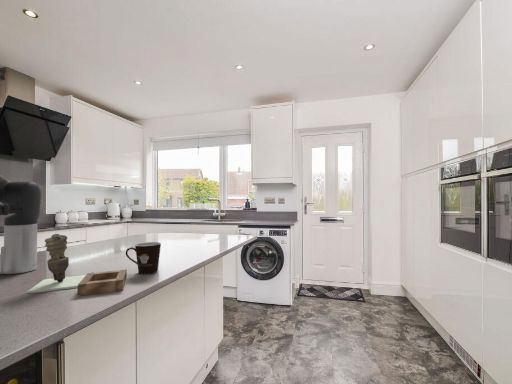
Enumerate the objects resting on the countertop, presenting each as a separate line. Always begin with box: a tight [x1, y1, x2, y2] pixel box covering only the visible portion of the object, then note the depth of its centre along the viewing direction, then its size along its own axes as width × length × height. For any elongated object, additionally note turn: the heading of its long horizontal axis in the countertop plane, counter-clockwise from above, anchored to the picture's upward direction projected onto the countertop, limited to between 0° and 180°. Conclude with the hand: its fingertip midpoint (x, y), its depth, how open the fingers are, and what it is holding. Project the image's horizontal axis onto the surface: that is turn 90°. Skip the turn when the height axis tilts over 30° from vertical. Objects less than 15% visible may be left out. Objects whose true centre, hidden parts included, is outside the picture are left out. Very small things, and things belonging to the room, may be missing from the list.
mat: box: [27, 274, 87, 294], centre depth 80 cm, size 12×12×1 cm
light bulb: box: [44, 233, 70, 282], centre depth 80 cm, size 6×6×15 cm
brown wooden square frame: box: [77, 269, 128, 297], centre depth 78 cm, size 11×12×3 cm
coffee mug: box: [125, 241, 162, 275], centre depth 94 cm, size 12×9×10 cm
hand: (17, 208), depth 71 cm, fingers open, 8 cm apart
